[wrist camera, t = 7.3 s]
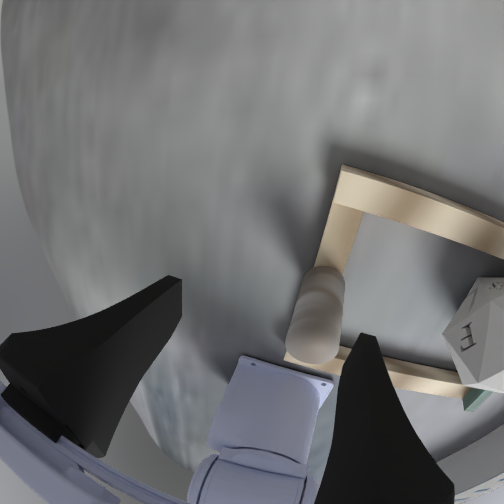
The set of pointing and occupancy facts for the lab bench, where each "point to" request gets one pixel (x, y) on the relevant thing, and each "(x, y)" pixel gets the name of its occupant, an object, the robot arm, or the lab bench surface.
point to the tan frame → (335, 258)
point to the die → (479, 336)
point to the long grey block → (476, 466)
